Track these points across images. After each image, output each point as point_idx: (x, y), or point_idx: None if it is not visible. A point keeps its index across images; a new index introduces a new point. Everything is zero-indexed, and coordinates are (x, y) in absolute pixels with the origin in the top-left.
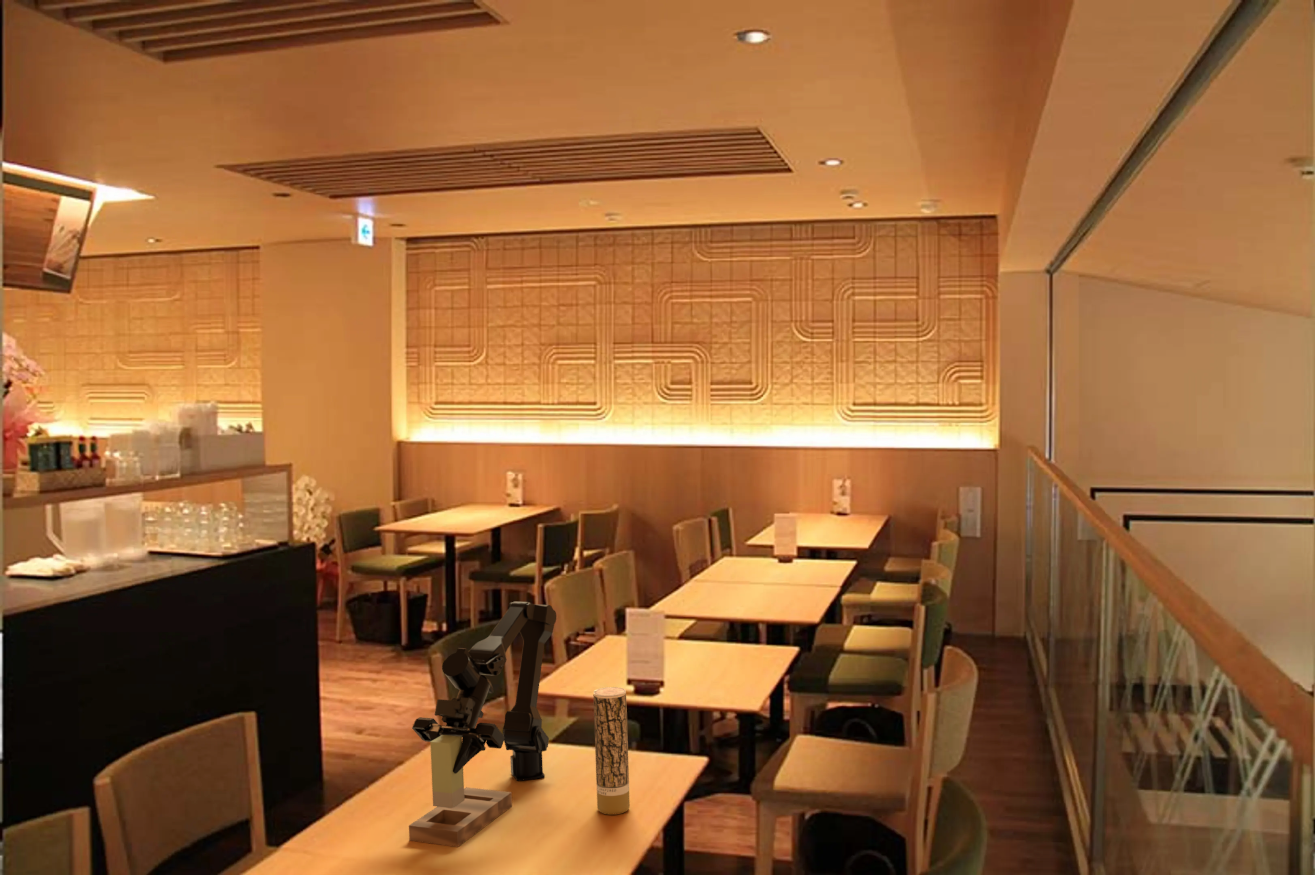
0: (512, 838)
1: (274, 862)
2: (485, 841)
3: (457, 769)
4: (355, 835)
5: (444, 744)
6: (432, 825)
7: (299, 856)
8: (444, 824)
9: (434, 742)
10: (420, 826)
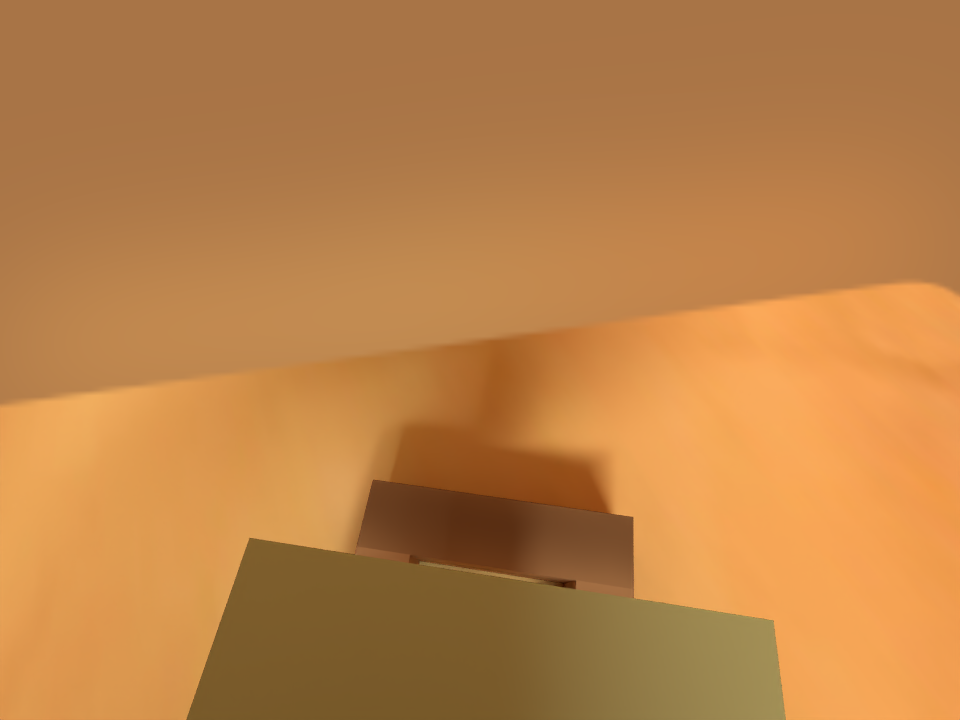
0: (163, 627)
1: (944, 290)
2: None
3: None
4: (882, 547)
5: (394, 565)
6: (518, 534)
7: (911, 337)
8: (464, 555)
9: (654, 604)
10: (570, 513)
